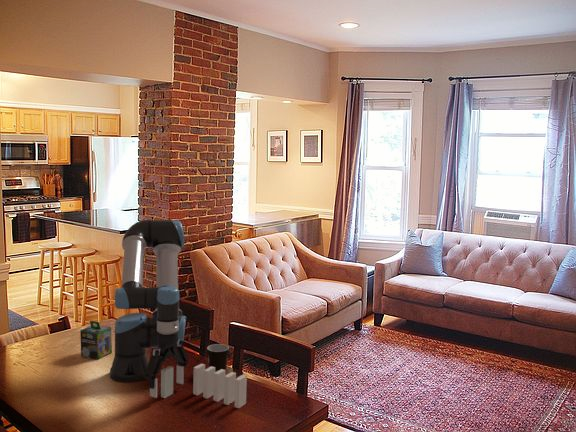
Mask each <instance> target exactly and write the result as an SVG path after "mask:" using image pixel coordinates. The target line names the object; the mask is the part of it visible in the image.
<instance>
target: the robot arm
mask: <svg viewBox="0 0 576 432" xmlns="http://www.w3.org/2000/svg"><path fill="white" fill-rule="evenodd" d="M121 247H122V249H123V251H124V252H123V260H122V261H123V264H122V276H121V277H122V280H121V287H118V288H115V291H114V307H115V309H117V310H137V309H155V310H153V311H152V313H151V315H152V316H151V317H149V316H147V314H146V313H144V312H132V313H128V314H125V315H122V316H120V317H118V318H116V321H115V324H114V330H113V331H114V332H113V333H114V358H113V360H112V364H111V367H110V370H109V377H110V379H111V380H113V381H115V382H120V383H133V382H139V381H142V380H145V379H146V380H148V388H149V397H152V398H155V399H157V398H158V378H157V376H158V374H159V372H160V371H161V368H162V366H163V364H164V363H165V362H166V361H167V359H169V358H171V357H173V359H174V360H175V362H176V363H177V364H176V375H175V377H176V382H175V383H176V384H180V385H184V379H185V377H184V375H185V367H187V366H188V363H189V358H188V357H189V356H188V355H187V352H186V349H185V347H184V338H185V330H186V321H187V316H185V315H183V311H182V310H181V309H180V290H179V272H178V271H179V267H178V266H179V265H178V259H179V258H178V254H179V253H180V252H181V251H182V248H184V247H185V234H184V228H183V224H182V222H181V221H180V220H178V219H177V220H175V219H174V220H173V219H143V220H139V221H137V222H136V223H134V224H132V225H131V226H129V228H127V230H126V231H125V233H124V234H123V237H122V242H121ZM147 248H152V251H153V254H155V255H156V261H155V262H156V268H155V269H156V270H155V271H156V275H155V276H156V279H155V281H156V282H155V283H156V285H155V286H156V287H155V286H154V287H144V286H143V283H144V252H145V250H146V249H147ZM147 349H150V350H151V352H150V357H149V359H148V356H147Z"/></svg>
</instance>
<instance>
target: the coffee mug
mask: <svg viewBox="0 0 576 432" xmlns="http://www.w3.org/2000/svg"><path fill="white" fill-rule="evenodd" d="M206 349H207V359H208V360H207V361H208V368H209V367H211V366H212V367H215V372H217V371H219V370H221V369H223V370H226V371H227V366H228V357H229V352H230V347H229V346H228V345H227V344H223V343H215V344H210V345H208V346H207V348H206Z"/></svg>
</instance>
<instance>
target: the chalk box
mask: <svg viewBox="0 0 576 432" xmlns="http://www.w3.org/2000/svg"><path fill="white" fill-rule="evenodd" d="M89 323H90V326H88V327H87V326H86V327H85V328H83V329H81V330H80V356H81V357H84V358H88V359H93V360H97V361H98V360H100V359H101V358H103V357H105V356H107V355H109V354H111V353H113V344H112V343H113V342H112V339H113V337H112V327H111V326H109V325H108V326H107V325H101V324H100V322H99V321H94V320H90V321H89Z"/></svg>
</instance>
